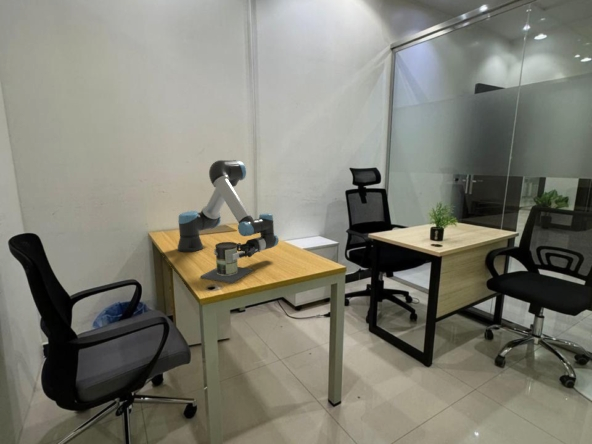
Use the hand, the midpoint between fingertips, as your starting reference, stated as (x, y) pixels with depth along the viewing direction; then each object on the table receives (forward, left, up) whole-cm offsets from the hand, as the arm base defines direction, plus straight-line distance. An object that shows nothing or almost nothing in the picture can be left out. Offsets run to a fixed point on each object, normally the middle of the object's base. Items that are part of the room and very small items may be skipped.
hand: (223, 254), depth 150 cm
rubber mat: (0, +2, -10) cm, 11 cm away
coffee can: (+1, +2, -10) cm, 10 cm away
